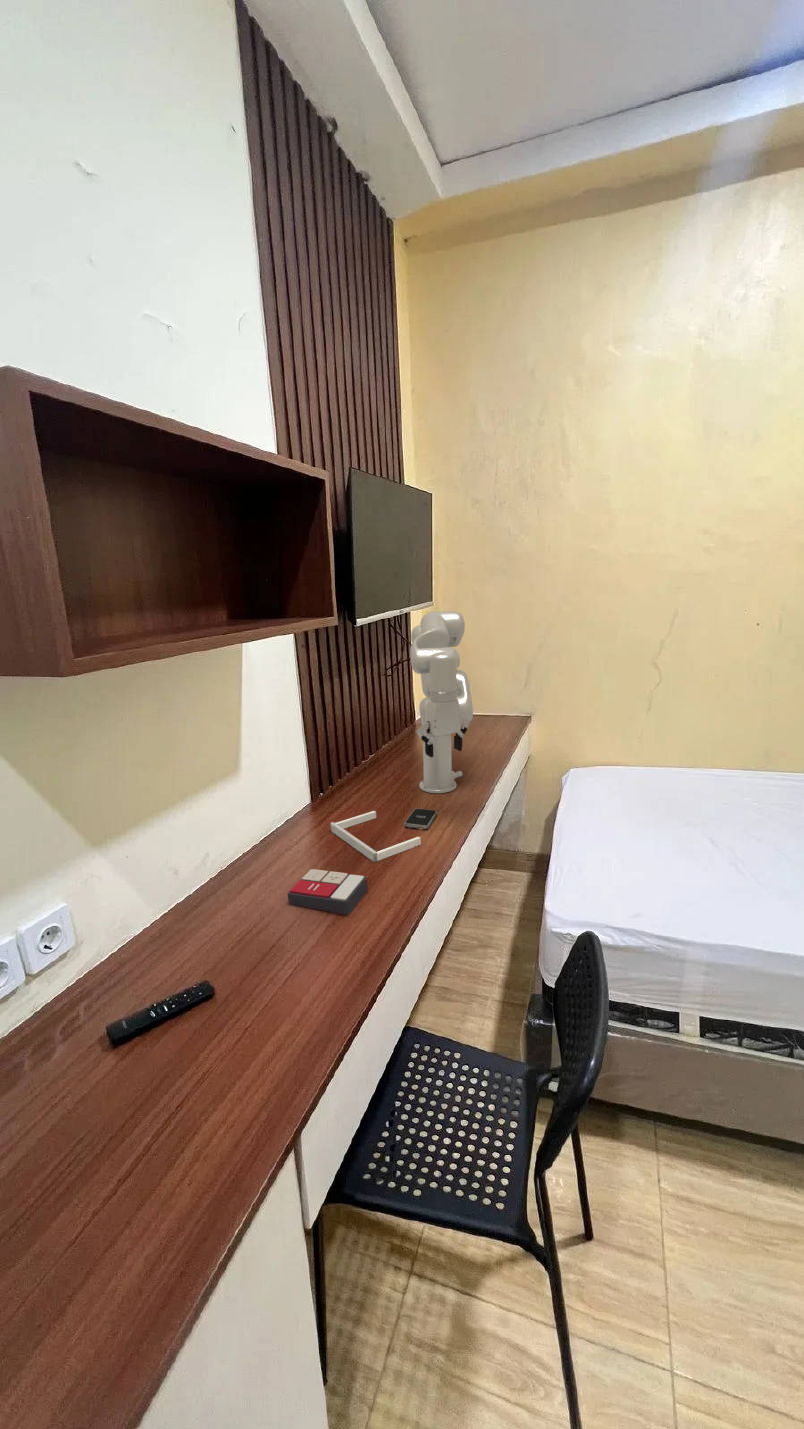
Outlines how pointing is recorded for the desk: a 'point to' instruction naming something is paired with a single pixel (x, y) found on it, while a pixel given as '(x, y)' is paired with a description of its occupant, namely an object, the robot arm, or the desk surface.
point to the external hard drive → (420, 819)
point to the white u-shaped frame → (363, 848)
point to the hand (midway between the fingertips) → (443, 752)
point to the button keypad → (328, 891)
